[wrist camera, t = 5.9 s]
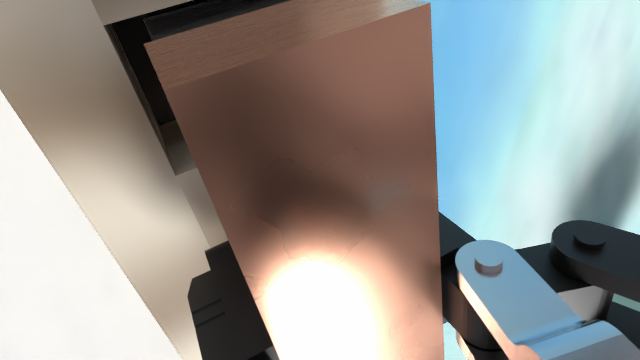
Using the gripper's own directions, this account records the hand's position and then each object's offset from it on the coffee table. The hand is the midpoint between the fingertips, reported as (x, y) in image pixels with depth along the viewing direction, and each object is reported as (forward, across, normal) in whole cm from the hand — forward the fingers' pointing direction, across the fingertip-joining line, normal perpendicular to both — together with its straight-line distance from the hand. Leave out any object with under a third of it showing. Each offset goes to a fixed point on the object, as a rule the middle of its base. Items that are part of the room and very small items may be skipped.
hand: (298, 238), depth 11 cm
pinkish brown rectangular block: (+5, 0, 0) cm, 5 cm away
